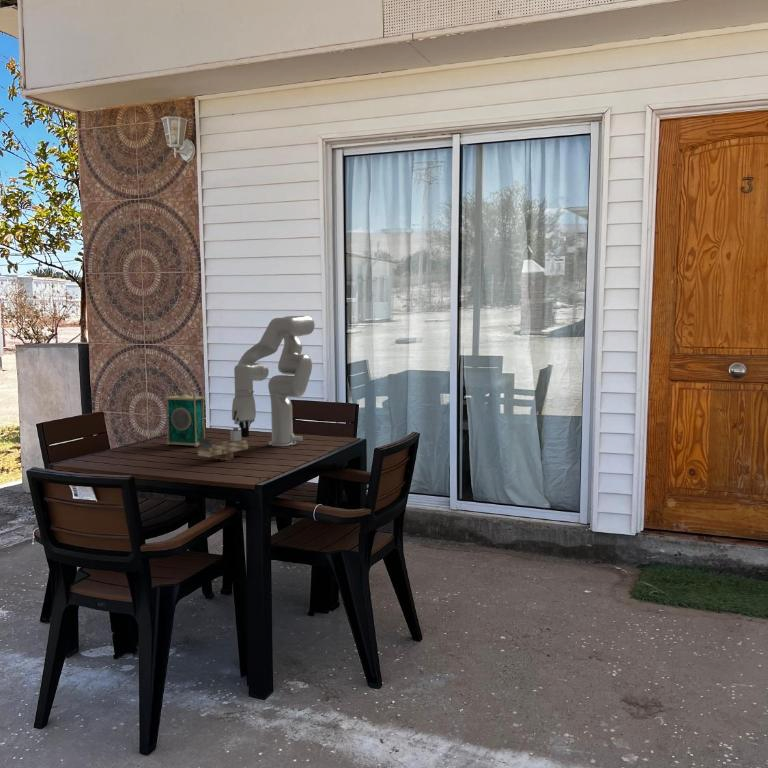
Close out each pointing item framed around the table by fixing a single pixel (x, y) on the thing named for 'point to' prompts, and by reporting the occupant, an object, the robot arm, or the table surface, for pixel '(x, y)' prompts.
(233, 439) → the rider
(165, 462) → the table surface
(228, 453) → the beam
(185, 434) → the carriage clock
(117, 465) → the table surface
